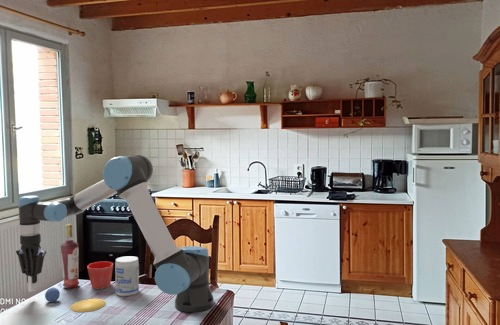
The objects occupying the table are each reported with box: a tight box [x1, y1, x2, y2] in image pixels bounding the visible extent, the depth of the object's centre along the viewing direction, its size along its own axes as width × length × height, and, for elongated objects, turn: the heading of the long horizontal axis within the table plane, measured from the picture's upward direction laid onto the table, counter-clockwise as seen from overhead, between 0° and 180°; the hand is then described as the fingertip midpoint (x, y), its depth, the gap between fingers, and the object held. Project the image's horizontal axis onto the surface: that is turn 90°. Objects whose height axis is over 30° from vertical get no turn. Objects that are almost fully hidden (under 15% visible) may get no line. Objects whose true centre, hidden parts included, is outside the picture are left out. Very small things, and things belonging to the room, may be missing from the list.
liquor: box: [60, 223, 80, 290], centre depth 194 cm, size 7×7×28 cm
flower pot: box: [86, 260, 114, 290], centre depth 195 cm, size 11×11×10 cm
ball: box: [44, 287, 61, 303], centre depth 177 cm, size 6×6×6 cm
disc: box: [70, 298, 107, 313], centre depth 173 cm, size 13×13×1 cm
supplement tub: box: [114, 255, 140, 297], centre depth 186 cm, size 10×10×15 cm
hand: (32, 290), depth 180 cm, fingers closed
